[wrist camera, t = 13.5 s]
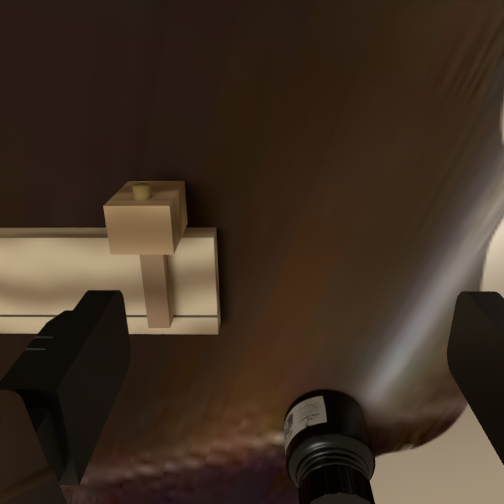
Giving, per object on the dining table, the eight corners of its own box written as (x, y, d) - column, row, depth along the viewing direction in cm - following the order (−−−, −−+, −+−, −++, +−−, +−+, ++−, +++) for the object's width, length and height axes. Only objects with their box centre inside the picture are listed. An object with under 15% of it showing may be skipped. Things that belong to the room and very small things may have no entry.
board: (-82, 228, 43) (-101, 238, 41) (216, 227, 42) (213, 237, 40) (-52, 319, 47) (-68, 333, 45) (220, 320, 47) (218, 334, 44)
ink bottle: (298, 376, 49) (308, 471, 38) (376, 395, 50) (408, 493, 39) (273, 441, 53) (275, 544, 42) (345, 458, 54) (366, 563, 43)
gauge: (127, 170, 41) (101, 192, 34) (183, 169, 40) (168, 192, 34) (143, 303, 46) (123, 344, 40) (193, 303, 46) (181, 345, 39)
